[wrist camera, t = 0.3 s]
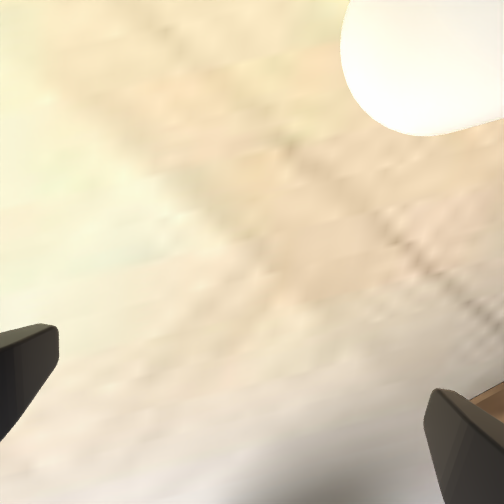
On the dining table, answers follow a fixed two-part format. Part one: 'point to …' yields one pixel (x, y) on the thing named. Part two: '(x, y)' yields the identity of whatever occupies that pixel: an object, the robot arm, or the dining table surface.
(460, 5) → the wine bottle
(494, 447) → the robot arm
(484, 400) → the walnut block
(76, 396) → the dining table surface
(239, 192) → the dining table surface
